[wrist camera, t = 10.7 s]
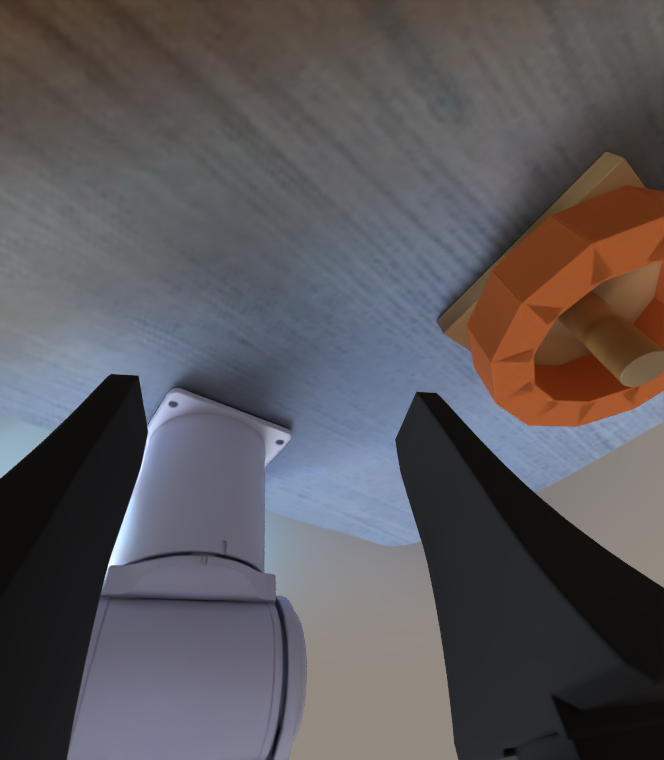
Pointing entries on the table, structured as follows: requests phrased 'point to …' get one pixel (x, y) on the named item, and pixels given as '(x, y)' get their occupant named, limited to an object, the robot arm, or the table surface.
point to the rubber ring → (558, 293)
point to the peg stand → (587, 298)
